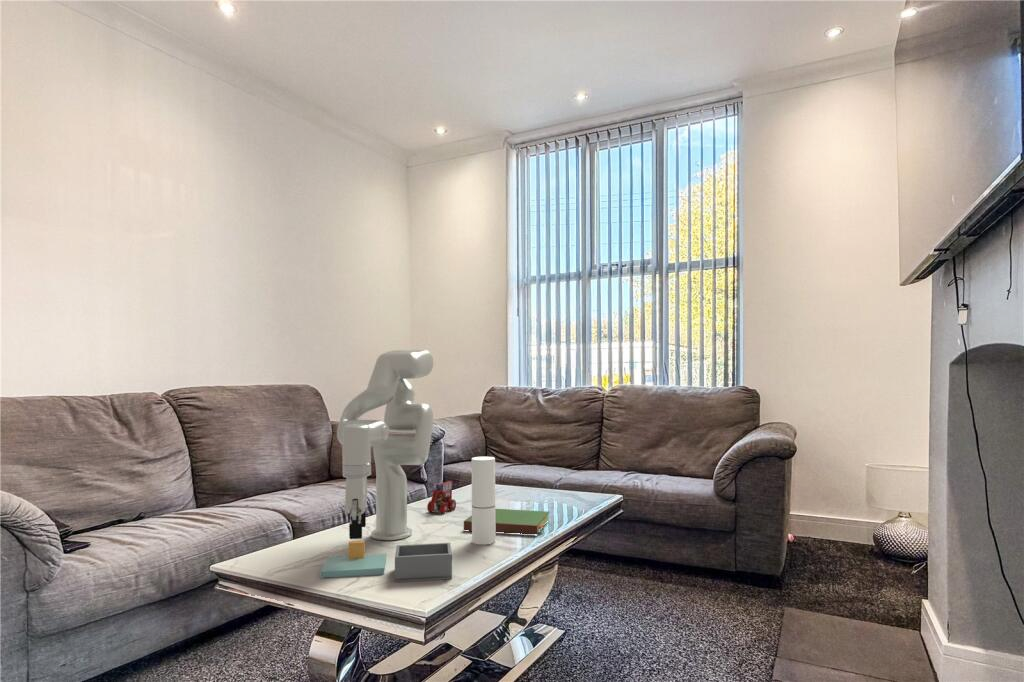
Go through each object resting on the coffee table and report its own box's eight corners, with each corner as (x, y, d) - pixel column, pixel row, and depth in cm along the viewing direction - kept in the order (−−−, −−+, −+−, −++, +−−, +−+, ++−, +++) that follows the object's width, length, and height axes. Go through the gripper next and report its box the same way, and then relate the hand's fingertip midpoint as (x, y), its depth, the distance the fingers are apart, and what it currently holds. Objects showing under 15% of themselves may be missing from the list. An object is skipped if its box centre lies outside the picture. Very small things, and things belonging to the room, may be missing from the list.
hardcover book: (463, 533, 189) (463, 521, 189) (481, 518, 207) (481, 507, 207) (539, 538, 182) (539, 525, 182) (551, 522, 200) (551, 511, 200)
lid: (327, 563, 158) (327, 542, 159) (386, 559, 161) (386, 539, 161) (320, 578, 147) (320, 555, 147) (383, 574, 149) (383, 552, 150)
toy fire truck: (423, 514, 212) (423, 485, 212) (443, 506, 223) (443, 479, 223) (439, 516, 209) (439, 486, 209) (458, 508, 220) (458, 480, 220)
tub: (396, 568, 154) (396, 545, 154) (450, 565, 156) (450, 542, 156) (394, 582, 144) (394, 557, 144) (452, 578, 146) (451, 554, 146)
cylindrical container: (495, 538, 181) (495, 456, 182) (495, 544, 174) (495, 459, 175) (472, 538, 180) (471, 456, 182) (471, 545, 173) (471, 460, 175)
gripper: (346, 463, 167) (347, 523, 167) (338, 477, 150) (339, 544, 150) (373, 462, 168) (374, 522, 168) (368, 476, 151) (369, 542, 151)
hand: (357, 532), depth 159 cm, fingers open, 9 cm apart
